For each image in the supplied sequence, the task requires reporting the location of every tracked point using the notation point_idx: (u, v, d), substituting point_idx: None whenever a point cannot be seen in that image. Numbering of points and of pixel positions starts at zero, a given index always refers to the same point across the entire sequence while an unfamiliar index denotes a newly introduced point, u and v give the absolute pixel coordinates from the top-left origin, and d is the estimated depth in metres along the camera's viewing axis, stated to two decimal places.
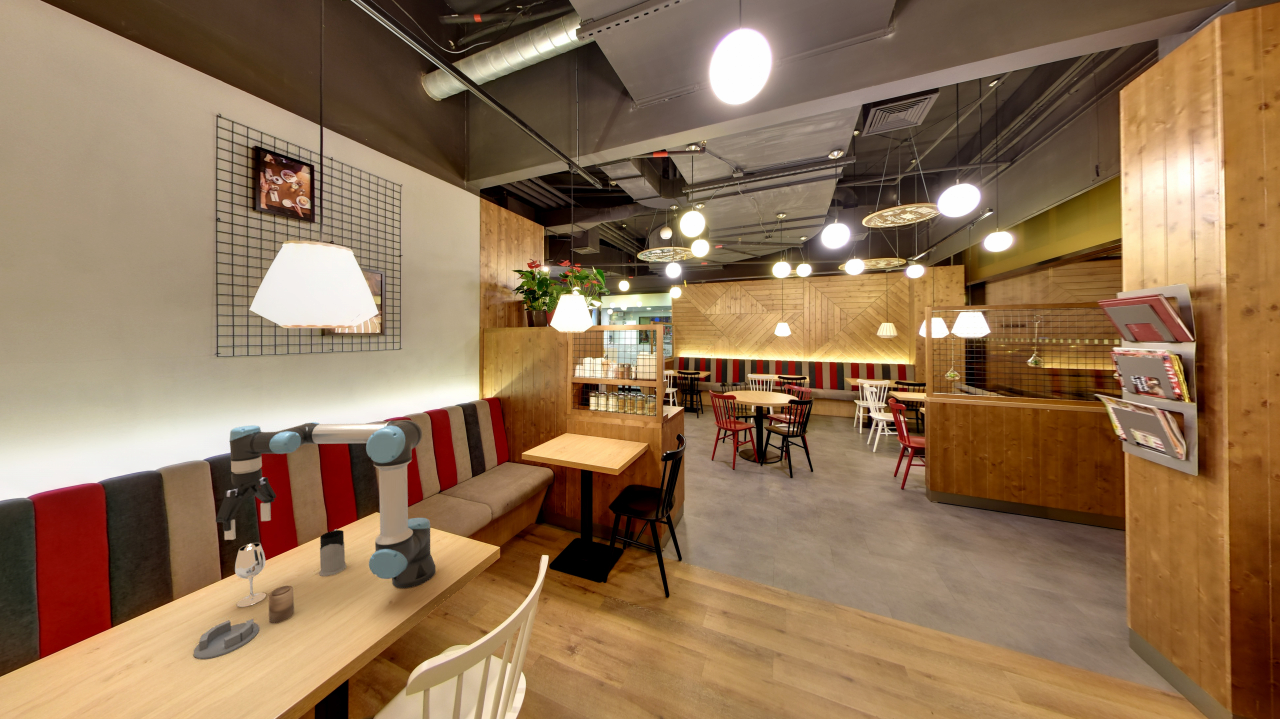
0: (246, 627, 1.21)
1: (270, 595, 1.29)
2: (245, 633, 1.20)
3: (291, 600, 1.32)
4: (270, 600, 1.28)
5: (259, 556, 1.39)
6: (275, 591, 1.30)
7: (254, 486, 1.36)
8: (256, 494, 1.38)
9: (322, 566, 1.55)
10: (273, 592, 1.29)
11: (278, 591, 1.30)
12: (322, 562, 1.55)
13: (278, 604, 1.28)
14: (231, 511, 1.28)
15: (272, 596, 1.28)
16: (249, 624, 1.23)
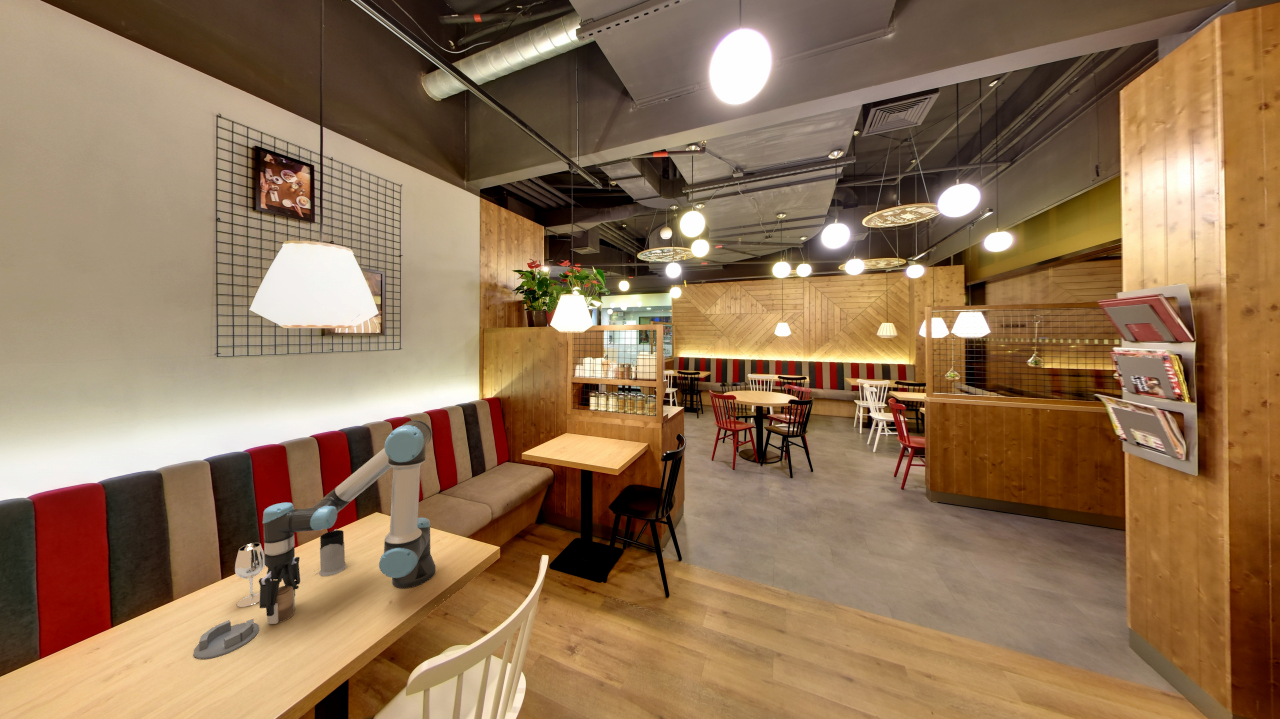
0: (246, 627, 1.21)
1: None
2: (245, 633, 1.20)
3: (291, 600, 1.32)
4: None
5: (259, 556, 1.39)
6: None
7: (287, 565, 1.32)
8: (284, 577, 1.33)
9: (322, 566, 1.55)
10: None
11: (278, 591, 1.30)
12: (322, 562, 1.55)
13: None
14: (272, 596, 1.27)
15: None
16: (249, 624, 1.23)
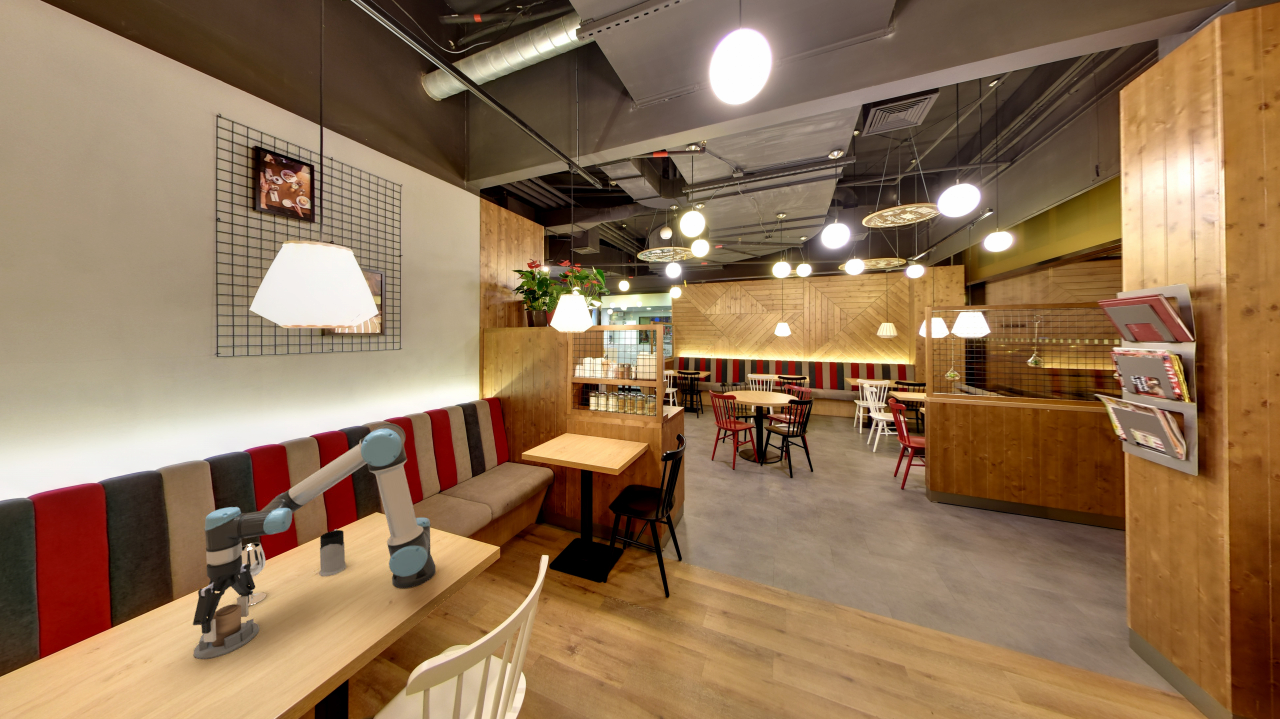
0: (246, 627, 1.21)
1: (214, 615, 1.18)
2: (245, 633, 1.20)
3: (237, 621, 1.21)
4: None
5: (259, 556, 1.39)
6: (220, 610, 1.19)
7: (233, 576, 1.21)
8: (234, 585, 1.23)
9: (322, 566, 1.55)
10: (218, 612, 1.19)
11: (223, 611, 1.19)
12: (322, 562, 1.55)
13: (221, 625, 1.17)
14: (210, 610, 1.15)
15: (216, 616, 1.18)
16: (249, 624, 1.23)
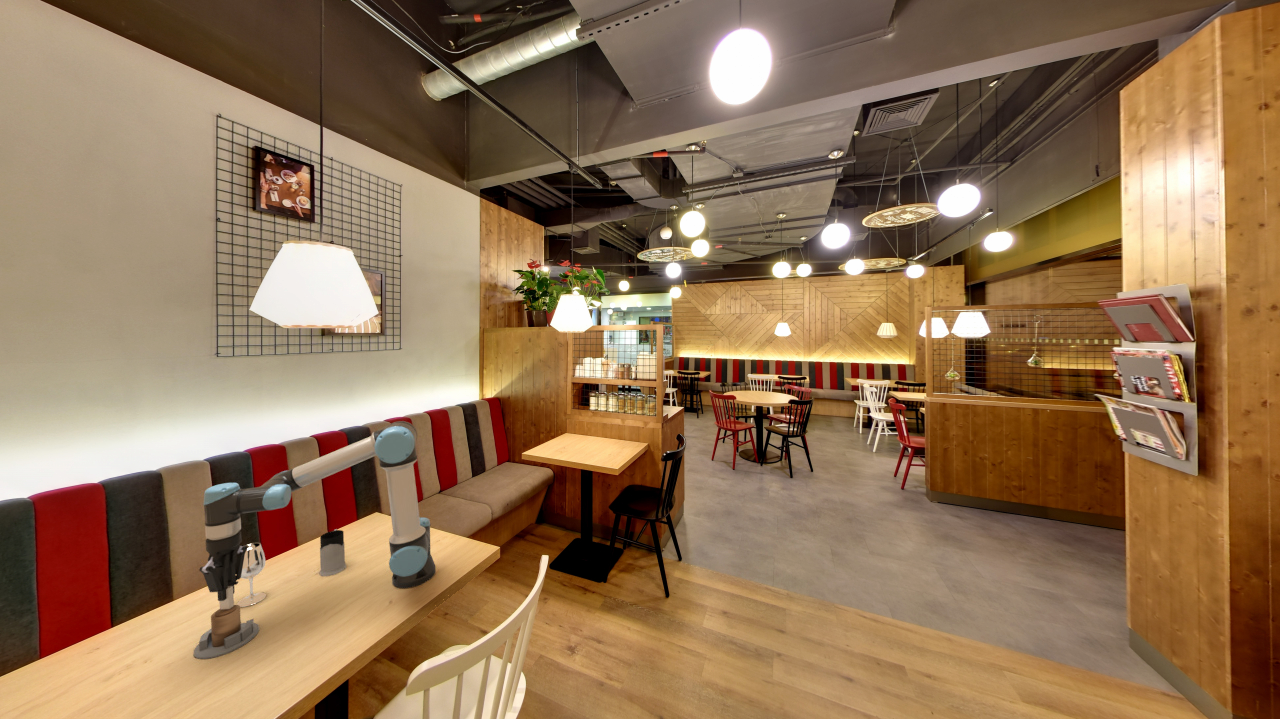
0: (246, 627, 1.21)
1: (213, 616, 1.18)
2: (245, 633, 1.20)
3: (237, 621, 1.20)
4: (212, 621, 1.17)
5: (259, 556, 1.39)
6: (219, 611, 1.19)
7: (233, 550, 1.21)
8: (226, 566, 1.20)
9: (322, 566, 1.55)
10: (216, 612, 1.18)
11: (222, 611, 1.19)
12: (322, 562, 1.55)
13: (220, 626, 1.17)
14: (221, 581, 1.18)
15: (215, 616, 1.17)
16: (249, 624, 1.23)
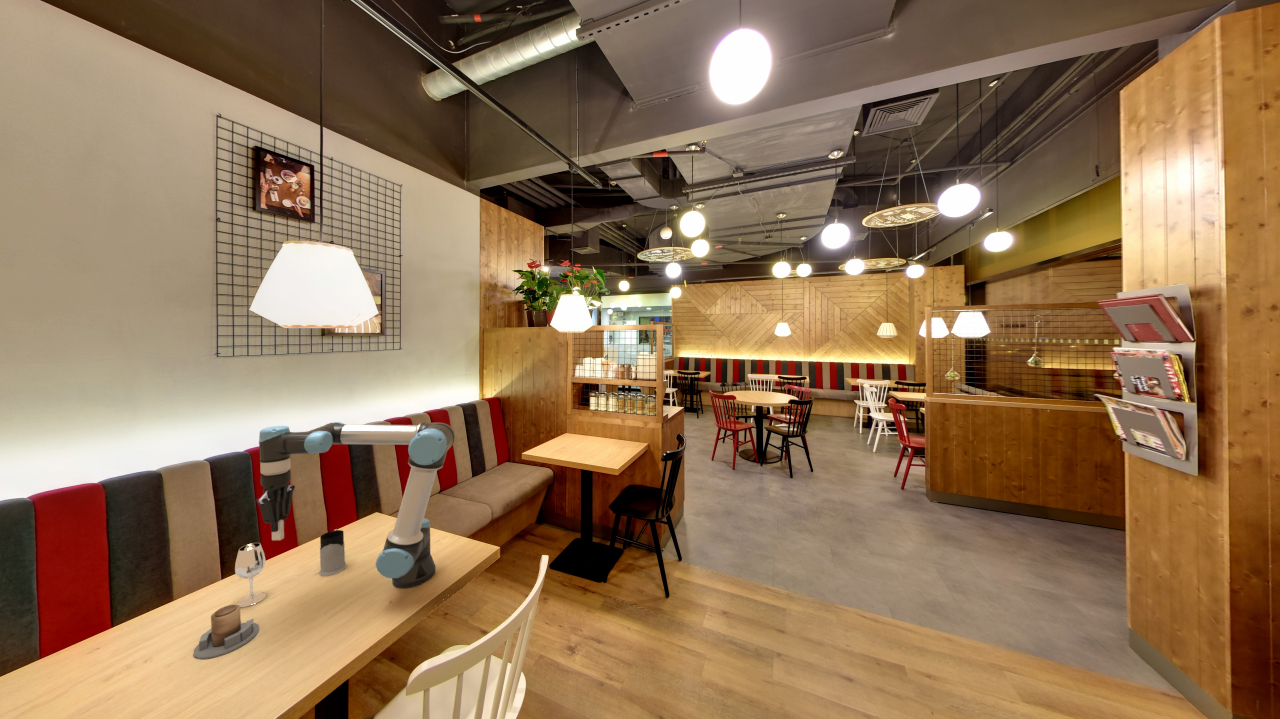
0: (246, 627, 1.21)
1: (213, 616, 1.18)
2: (245, 633, 1.20)
3: (237, 621, 1.20)
4: (212, 621, 1.17)
5: (259, 556, 1.39)
6: (219, 611, 1.19)
7: (284, 487, 1.32)
8: None
9: (322, 566, 1.55)
10: (216, 612, 1.18)
11: (222, 611, 1.19)
12: (322, 562, 1.55)
13: (220, 626, 1.17)
14: (274, 514, 1.30)
15: (215, 616, 1.17)
16: (249, 624, 1.23)
